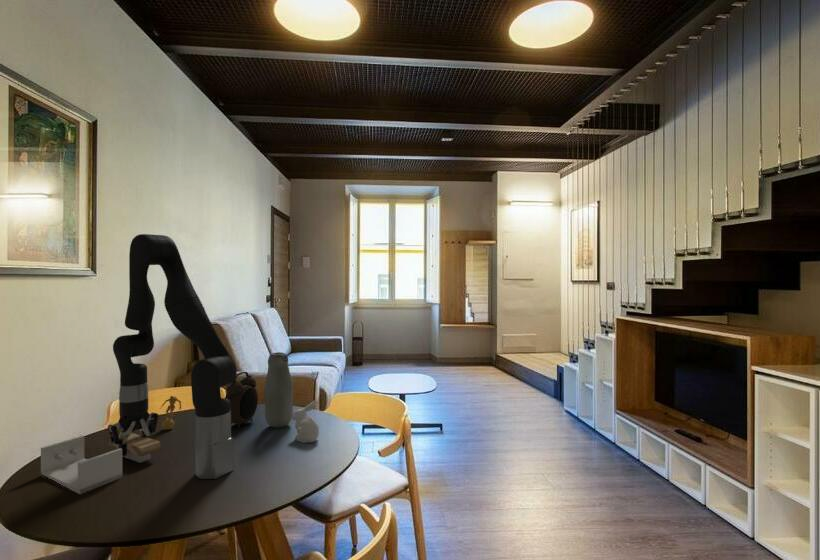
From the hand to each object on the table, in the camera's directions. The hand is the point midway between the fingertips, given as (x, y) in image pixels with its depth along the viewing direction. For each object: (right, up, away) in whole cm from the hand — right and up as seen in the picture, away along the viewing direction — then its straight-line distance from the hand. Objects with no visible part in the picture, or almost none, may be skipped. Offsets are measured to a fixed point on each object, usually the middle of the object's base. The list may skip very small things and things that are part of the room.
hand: (134, 451), depth 126 cm
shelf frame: (-6, -2, -13) cm, 14 cm away
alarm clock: (+22, -2, +28) cm, 36 cm away
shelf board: (0, +1, 0) cm, 1 cm away
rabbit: (+50, -2, +14) cm, 52 cm away
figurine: (-3, -2, +24) cm, 24 cm away
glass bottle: (+37, -2, +26) cm, 45 cm away
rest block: (0, -2, 0) cm, 2 cm away
